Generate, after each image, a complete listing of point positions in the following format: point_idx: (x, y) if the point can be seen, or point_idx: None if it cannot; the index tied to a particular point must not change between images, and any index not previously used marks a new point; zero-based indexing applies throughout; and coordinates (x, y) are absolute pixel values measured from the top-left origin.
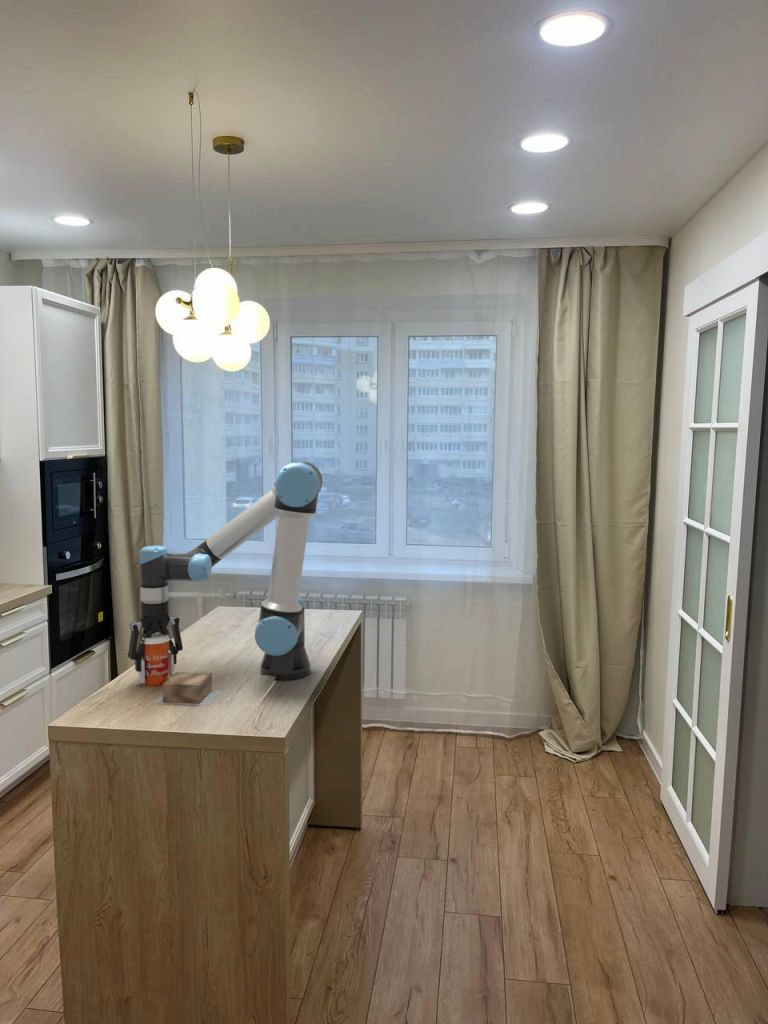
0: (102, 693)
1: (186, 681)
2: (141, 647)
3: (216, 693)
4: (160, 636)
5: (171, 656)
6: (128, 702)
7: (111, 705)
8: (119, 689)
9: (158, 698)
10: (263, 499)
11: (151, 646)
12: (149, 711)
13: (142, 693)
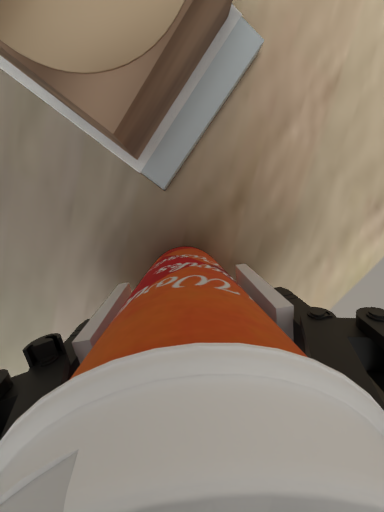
0: (341, 294)
1: None
2: (374, 390)
3: None
4: None
5: (91, 333)
6: (309, 167)
7: (362, 168)
8: None
9: (229, 87)
10: None
11: (292, 352)
12: (282, 11)
13: (243, 234)
